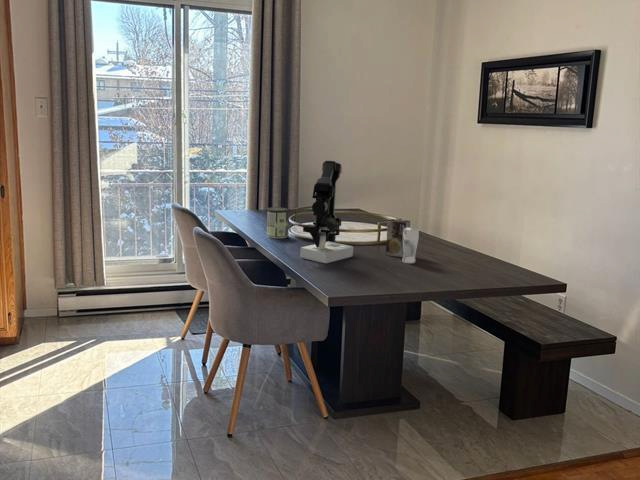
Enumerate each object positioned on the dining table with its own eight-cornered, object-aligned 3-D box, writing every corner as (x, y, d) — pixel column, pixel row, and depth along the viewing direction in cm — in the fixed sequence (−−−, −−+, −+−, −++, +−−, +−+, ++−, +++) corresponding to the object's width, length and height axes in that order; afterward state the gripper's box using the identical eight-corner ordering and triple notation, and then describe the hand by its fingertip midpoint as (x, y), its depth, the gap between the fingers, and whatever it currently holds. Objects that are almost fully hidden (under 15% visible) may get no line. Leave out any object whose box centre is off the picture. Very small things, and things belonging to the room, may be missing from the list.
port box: (327, 250, 303) (328, 240, 302) (352, 256, 295) (353, 245, 294) (300, 257, 288) (300, 246, 287) (325, 263, 279) (326, 252, 278)
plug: (319, 253, 290) (320, 231, 288) (326, 255, 287) (327, 233, 285) (313, 255, 287) (314, 232, 285) (321, 256, 284) (322, 234, 282)
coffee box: (408, 255, 303) (411, 220, 299) (404, 257, 297) (406, 222, 294) (389, 252, 306) (392, 218, 303) (384, 255, 301) (387, 220, 297)
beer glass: (406, 264, 284) (409, 230, 281) (397, 260, 290) (400, 227, 287) (419, 263, 287) (422, 229, 284) (410, 259, 293) (413, 226, 290)
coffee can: (274, 233, 337) (275, 206, 334) (290, 236, 331) (291, 208, 328) (262, 236, 328) (262, 208, 325) (278, 239, 323) (279, 211, 320)
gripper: (323, 215, 271) (321, 252, 274) (350, 211, 285) (348, 246, 289) (302, 212, 278) (301, 248, 281) (329, 207, 292) (327, 242, 295)
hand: (320, 246), depth 286 cm, fingers closed on plug, 4 cm apart
